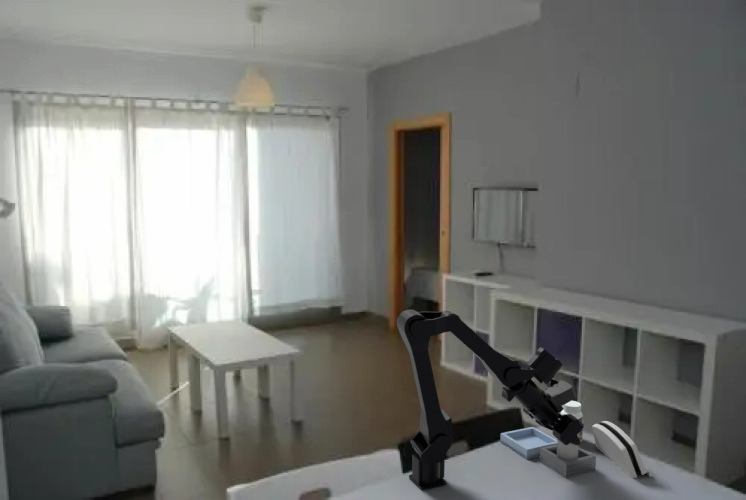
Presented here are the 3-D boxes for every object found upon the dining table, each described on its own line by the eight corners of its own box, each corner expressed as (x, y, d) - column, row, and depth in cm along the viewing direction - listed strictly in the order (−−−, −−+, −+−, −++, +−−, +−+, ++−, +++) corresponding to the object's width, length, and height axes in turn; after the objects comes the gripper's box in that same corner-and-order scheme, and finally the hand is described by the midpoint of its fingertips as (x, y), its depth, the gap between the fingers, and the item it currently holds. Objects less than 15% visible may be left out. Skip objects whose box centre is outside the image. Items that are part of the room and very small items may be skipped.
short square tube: (565, 478, 133) (566, 463, 132) (539, 461, 141) (539, 448, 141) (595, 470, 136) (596, 456, 136) (568, 455, 145) (568, 441, 144)
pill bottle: (581, 436, 156) (582, 400, 155) (583, 445, 150) (584, 408, 149) (559, 434, 157) (560, 398, 156) (560, 442, 152) (561, 406, 151)
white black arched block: (653, 477, 133) (641, 438, 132) (634, 485, 133) (622, 446, 132) (614, 445, 150) (603, 411, 149) (598, 452, 150) (587, 418, 148)
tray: (526, 459, 142) (527, 449, 142) (500, 442, 152) (500, 433, 152) (560, 451, 146) (560, 442, 146) (532, 435, 156) (532, 426, 156)
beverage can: (556, 469, 137) (558, 420, 136) (556, 460, 142) (558, 413, 140) (578, 472, 136) (580, 422, 134) (577, 463, 140) (579, 415, 139)
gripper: (577, 385, 126) (619, 429, 130) (535, 361, 145) (574, 400, 148) (543, 423, 126) (587, 466, 129) (505, 394, 144) (544, 433, 147)
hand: (573, 439), depth 138 cm, fingers closed on beverage can, 5 cm apart
